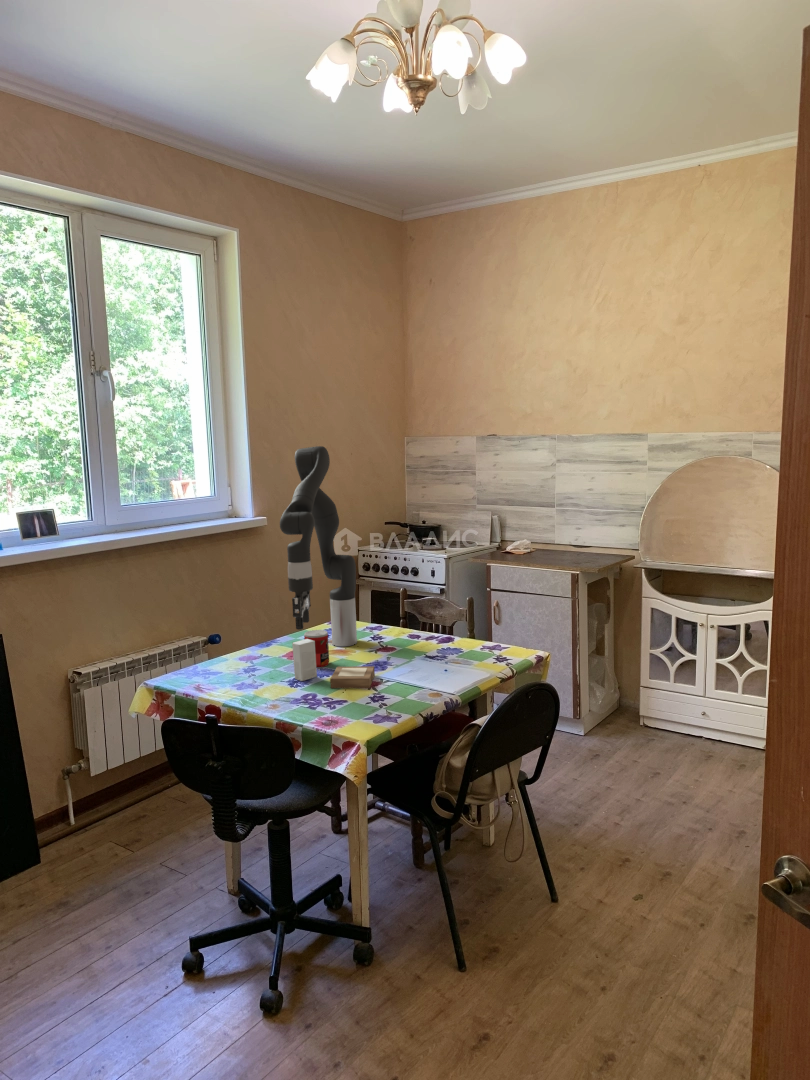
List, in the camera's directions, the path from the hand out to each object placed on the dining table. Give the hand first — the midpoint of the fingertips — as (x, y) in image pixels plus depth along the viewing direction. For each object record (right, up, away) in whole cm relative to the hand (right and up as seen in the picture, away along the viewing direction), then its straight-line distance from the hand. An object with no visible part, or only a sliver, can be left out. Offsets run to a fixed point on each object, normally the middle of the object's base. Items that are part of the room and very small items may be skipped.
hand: (302, 625), depth 235 cm
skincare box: (+1, -17, +2) cm, 17 cm away
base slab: (+16, -17, -3) cm, 24 cm away
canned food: (+3, -15, +16) cm, 22 cm away
